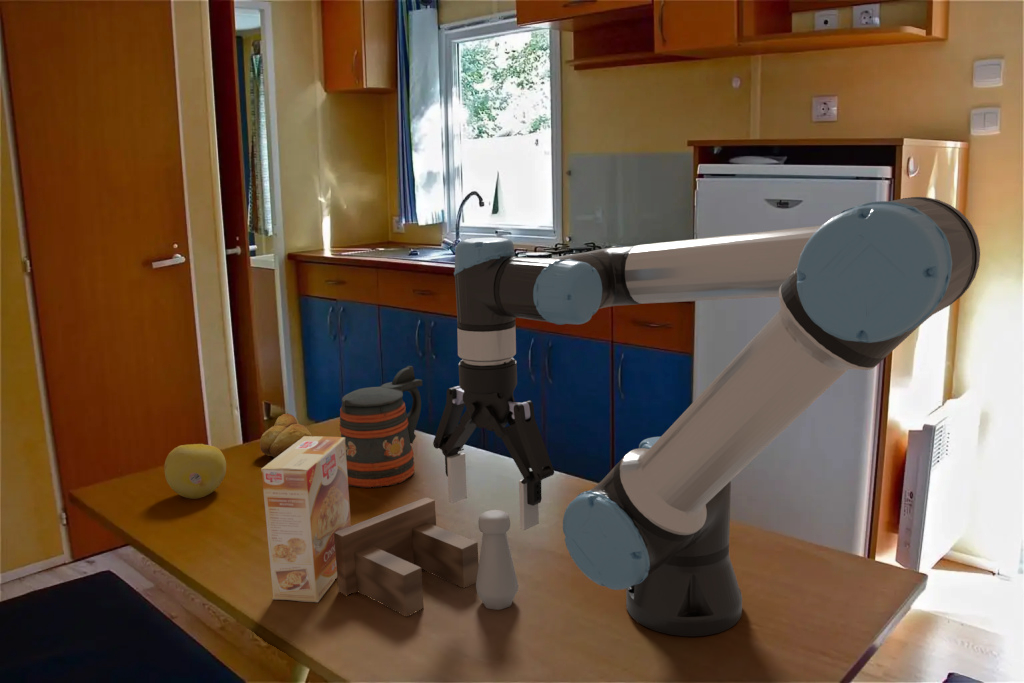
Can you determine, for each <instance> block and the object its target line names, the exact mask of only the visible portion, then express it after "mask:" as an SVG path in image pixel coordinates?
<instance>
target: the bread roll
mask: <svg viewBox="0 0 1024 683" xmlns="http://www.w3.org/2000/svg"><path fill="white" fill-rule="evenodd" d="M303 436H312V433H311V431H309V429H308V428H307V427H306V426H305V425H303V424H300V422H299V420H298V419H297V418H296V417H295V415H293V414H290V413H288V412H287V413H283V414H281V415H279V416H278V417H277V419H276V420H275V423H274V425H272V426H271V427H269V428H268V429H267V430H265V432H263V433H262V435H261V436H260V439H259V447H260V451H261V452H262V453H263V454H264V455H266V456H269V457H272V458H273V459H275V458H276V457H277V456H279V455H280V454H281V453H283V452H284V451H285V450H287V449H288V448H289V447H291V446H292V445H293V444H295V443H296V442H297V441H298V440H300V439H301V438H302V437H303Z"/></svg>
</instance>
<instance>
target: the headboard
mask: <svg viewBox="0 0 1024 683" xmlns="http://www.w3.org/2000/svg"><path fill="white" fill-rule="evenodd" d="M334 540H335V553H336V565H337V578H336V579H337V588H338V589H337V590H338V592H339V593H340V592H341V593H340V594H342V593H343V594H342V595H344V594H345V595H344V596H346V595H349V594H351V593H353V592H355V593H357V592H356V591H359V592H360V593H359V592H358V593H359V594H361V593H362V594H361V595H363V594H365V595H367V596H369V597H371V598H372V599H375V600H376V601H379V602H381V603H383V604H384V605H386V606H388V607H390V608H392V609H394V610H396V611H398V612H400V613H401V614H403V615H405V616H408V617H410V616H411V615H410V614H412V613H414V612H415V611H418V610H420V609H422V608H424V590H423V576H422V575H423V572H422V571H424V570H426V571H428V572H430V573H429V574H431V573H433V574H435V575H437V576H439V577H438V578H440V577H441V578H440V579H442V578H443V580H444V579H445V580H444V581H446V580H448V581H447V582H449V581H450V582H449V583H451V582H452V583H451V584H453V583H454V584H453V585H455V584H456V585H455V586H457V585H458V587H460V586H461V587H460V588H462V587H463V588H462V589H466V588H468V587H470V586H472V585H474V584H476V581H477V574H478V566H479V549H478V548H479V546H478V545H479V544H478V541H476V540H474V539H471V538H469V537H466V536H464V535H460V534H458V533H456V532H453V531H450V530H447V529H445V528H442V527H440V526H437V516H436V499H432V498H430V497H428V496H427V497H422V498H421V499H418V500H415V501H413V502H410V503H407V504H405V505H402V506H400V507H397V508H394V509H392V510H389V511H386V512H384V513H382V514H379V515H377V516H374V517H371V518H368V519H366V520H363V521H360V522H358V523H355V524H353V525H352V524H351V526H350V527H347V528H345V529H342V530H339V531H337V532H334ZM422 569H424V570H422ZM426 571H425V572H426ZM428 572H427V573H428ZM433 574H432V575H433ZM435 575H434V576H435ZM437 576H436V577H437ZM465 587H466V588H465ZM353 594H354V593H353ZM351 595H352V594H351ZM365 595H364V596H365ZM349 596H350V595H349ZM372 599H371V600H372ZM376 601H375V602H376ZM384 605H383V606H384ZM386 606H385V607H386ZM388 607H387V608H388ZM390 608H389V609H390ZM392 609H391V610H392ZM394 610H393V611H394ZM422 610H423V609H422ZM396 611H395V612H396ZM420 611H421V610H420ZM398 612H397V613H398ZM418 612H419V611H418ZM400 613H399V614H400ZM401 614H400V615H401ZM414 614H415V613H414ZM403 615H402V616H403ZM409 615H410V616H409ZM412 615H413V614H412ZM405 616H404V617H405Z"/></svg>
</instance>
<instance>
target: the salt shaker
mask: <svg viewBox="0 0 1024 683" xmlns="http://www.w3.org/2000/svg"><path fill="white" fill-rule="evenodd" d="M477 520H478V521H477V522H478V523H477V524H478V530H479V532H481V533H482V537H481V545H480V553H479V558H478V563H479V566H478V574H477V581H476V583H475V589H476V593H477V596H478V597H479V599H480V600H481V602H482V603H483V605H484V606H485V608H486V609H491V610H496V611H501V610H504V609H506V608H510V607H511V606H512V604H513V601H514V598H515V597H516V595H517V593H518V591H519V582H518V578H517V574H516V569H515V564H514V560H513V557H512V556H513V555H512V552H511V548H510V547H511V546H510V543H509V539H508V534H507V532H508V531H509V530H510V528H511V519H510V514H508V513H507V512H505V511H504V510H499V509H491V510H486V511H483V512H482V513H481V514H480V515H479V516H478V519H477Z"/></svg>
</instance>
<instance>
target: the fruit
mask: <svg viewBox="0 0 1024 683" xmlns="http://www.w3.org/2000/svg"><path fill="white" fill-rule="evenodd" d="M163 466H164V476H165V479H166V482H167V484H168V485H169V487H170V488H171V490H173V492H175V493H177V494H178V495H179V496H181V497H183V498H186V499H189V500H191V499H192V500H193V499H201V498H204V497H206V496H209V495H210V494H212V493H213V492H215V490H217V488H219V487H220V485H221V483H222V482H223V481H224V478H225V475H226V471H227V462H226V458H225V455H224V454H223V452H222V450H220V449H219V448H218V447H216V446H215V445H210V444H204V443H193V444H192V443H191V444H189V443H188V444H183V445H182V444H181V445H178V446H177V447H174V448H173V449H172V450H170V452H169V453H168V454H167V456H166V458H165V461H164V465H163Z"/></svg>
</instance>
